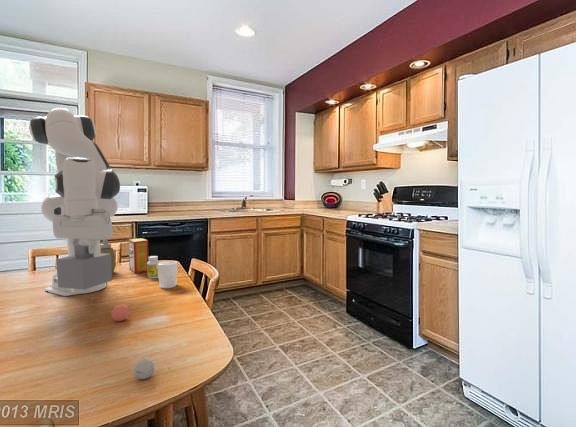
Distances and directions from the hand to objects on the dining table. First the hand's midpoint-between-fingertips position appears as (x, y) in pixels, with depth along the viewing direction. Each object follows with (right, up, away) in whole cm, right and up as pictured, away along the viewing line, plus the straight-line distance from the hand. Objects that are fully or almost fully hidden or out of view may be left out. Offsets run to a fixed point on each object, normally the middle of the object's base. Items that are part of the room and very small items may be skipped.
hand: (84, 253), depth 98 cm
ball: (+12, -18, -2) cm, 22 cm away
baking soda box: (-10, -17, +58) cm, 61 cm away
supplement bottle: (+2, -17, +47) cm, 50 cm away
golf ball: (+33, -23, -31) cm, 51 cm away
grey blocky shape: (0, -10, +1) cm, 10 cm away
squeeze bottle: (-24, -17, +54) cm, 61 cm away
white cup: (+14, -18, +33) cm, 40 cm away
